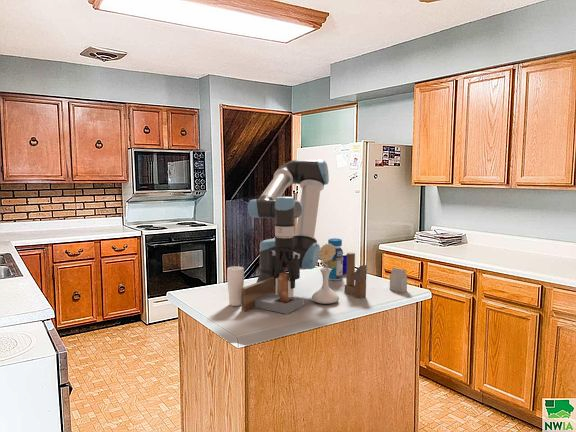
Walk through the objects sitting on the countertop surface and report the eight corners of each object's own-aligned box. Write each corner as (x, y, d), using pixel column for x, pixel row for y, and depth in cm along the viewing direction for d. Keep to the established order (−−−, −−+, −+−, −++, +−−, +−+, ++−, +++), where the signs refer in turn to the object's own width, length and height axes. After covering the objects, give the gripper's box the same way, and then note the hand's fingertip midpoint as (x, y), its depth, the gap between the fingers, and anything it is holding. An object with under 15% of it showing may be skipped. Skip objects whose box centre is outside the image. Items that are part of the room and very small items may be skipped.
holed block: (255, 307, 176) (254, 299, 176) (272, 299, 186) (272, 292, 186) (286, 314, 168) (286, 306, 168) (303, 306, 178) (303, 298, 178)
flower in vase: (306, 299, 187) (307, 241, 185) (330, 296, 192) (331, 239, 189) (321, 308, 176) (322, 245, 173) (346, 305, 180) (347, 244, 178)
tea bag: (401, 292, 199) (402, 270, 198) (389, 289, 205) (390, 267, 204) (406, 291, 201) (407, 269, 200) (394, 288, 207) (395, 266, 206)
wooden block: (359, 298, 190) (360, 256, 188) (344, 292, 199) (344, 252, 197) (366, 297, 191) (367, 256, 190) (350, 291, 201) (351, 252, 199)
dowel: (277, 308, 175) (277, 273, 174) (283, 306, 179) (283, 271, 177) (285, 310, 173) (285, 275, 172) (291, 307, 177) (291, 273, 175)
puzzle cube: (332, 275, 232) (332, 256, 231) (323, 271, 241) (323, 253, 240) (348, 273, 236) (349, 254, 235) (339, 269, 245) (339, 251, 244)
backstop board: (241, 310, 173) (241, 287, 172) (276, 296, 193) (276, 275, 192) (245, 311, 171) (245, 288, 171) (280, 297, 191) (280, 276, 190)
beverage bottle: (324, 276, 228) (325, 238, 226) (340, 276, 229) (341, 237, 227) (327, 280, 219) (328, 240, 217) (344, 280, 220) (345, 240, 218)
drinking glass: (228, 301, 184) (228, 266, 182) (245, 302, 184) (245, 266, 182) (226, 306, 177) (225, 269, 176) (243, 307, 177) (242, 270, 176)
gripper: (260, 235, 175) (260, 293, 177) (299, 240, 165) (299, 301, 167) (271, 233, 181) (271, 289, 184) (309, 237, 171) (309, 296, 174)
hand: (284, 295), depth 175 cm, fingers open, 5 cm apart
